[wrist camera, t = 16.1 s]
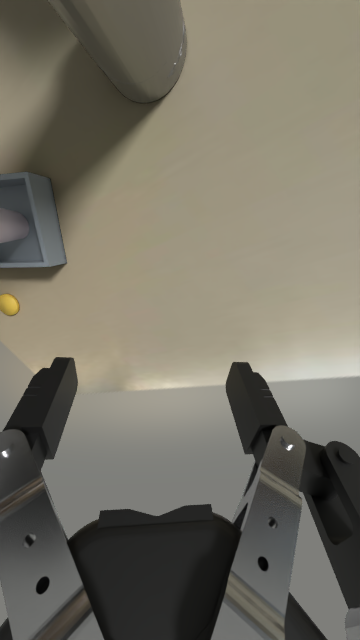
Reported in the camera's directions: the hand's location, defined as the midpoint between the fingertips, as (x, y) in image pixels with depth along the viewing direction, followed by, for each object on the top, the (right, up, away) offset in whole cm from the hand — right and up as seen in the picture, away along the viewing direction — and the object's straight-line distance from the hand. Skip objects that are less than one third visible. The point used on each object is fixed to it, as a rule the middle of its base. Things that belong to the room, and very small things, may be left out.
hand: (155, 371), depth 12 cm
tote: (-23, +17, +23) cm, 36 cm away
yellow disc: (-28, +5, +28) cm, 40 cm away
